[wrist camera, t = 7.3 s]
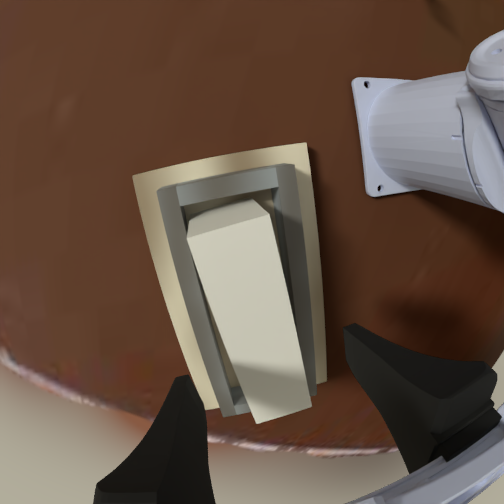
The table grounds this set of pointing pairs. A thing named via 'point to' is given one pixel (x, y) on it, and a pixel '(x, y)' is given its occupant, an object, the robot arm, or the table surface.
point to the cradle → (185, 272)
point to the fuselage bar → (250, 305)
